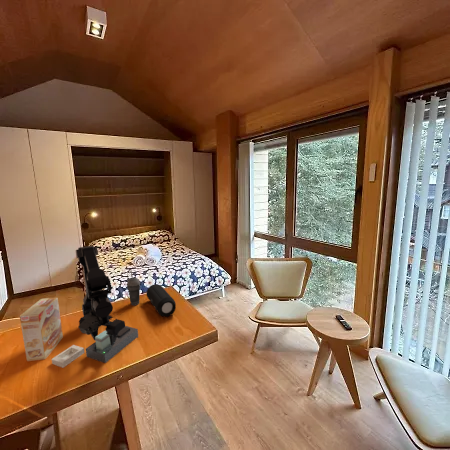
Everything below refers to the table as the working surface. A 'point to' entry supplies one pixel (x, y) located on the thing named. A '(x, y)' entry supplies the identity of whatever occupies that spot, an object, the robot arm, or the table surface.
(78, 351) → the light grey tray
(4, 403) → the table surface
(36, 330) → the coffeecake box
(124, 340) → the panel
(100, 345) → the plug
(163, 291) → the portable speaker
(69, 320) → the table surface
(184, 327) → the table surface
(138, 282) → the beverage cup
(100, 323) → the robot arm
